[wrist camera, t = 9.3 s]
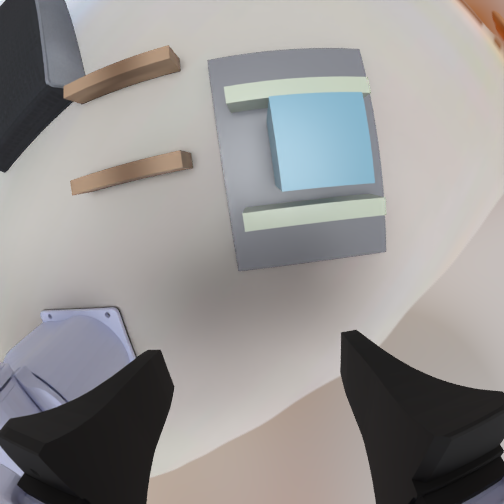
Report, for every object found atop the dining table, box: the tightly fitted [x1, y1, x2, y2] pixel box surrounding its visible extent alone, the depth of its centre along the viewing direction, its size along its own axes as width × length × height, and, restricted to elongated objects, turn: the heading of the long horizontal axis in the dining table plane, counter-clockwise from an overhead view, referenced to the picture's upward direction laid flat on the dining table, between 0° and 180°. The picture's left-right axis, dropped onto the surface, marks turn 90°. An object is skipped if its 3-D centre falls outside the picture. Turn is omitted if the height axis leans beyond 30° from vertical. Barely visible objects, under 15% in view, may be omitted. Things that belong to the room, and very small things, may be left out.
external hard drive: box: [0, 0, 85, 172], centre depth 13 cm, size 13×19×4 cm
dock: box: [207, 48, 386, 271], centre depth 16 cm, size 10×14×3 cm
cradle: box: [64, 45, 193, 195], centre depth 16 cm, size 8×8×2 cm
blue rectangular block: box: [266, 92, 375, 192], centre depth 14 cm, size 4×4×6 cm
